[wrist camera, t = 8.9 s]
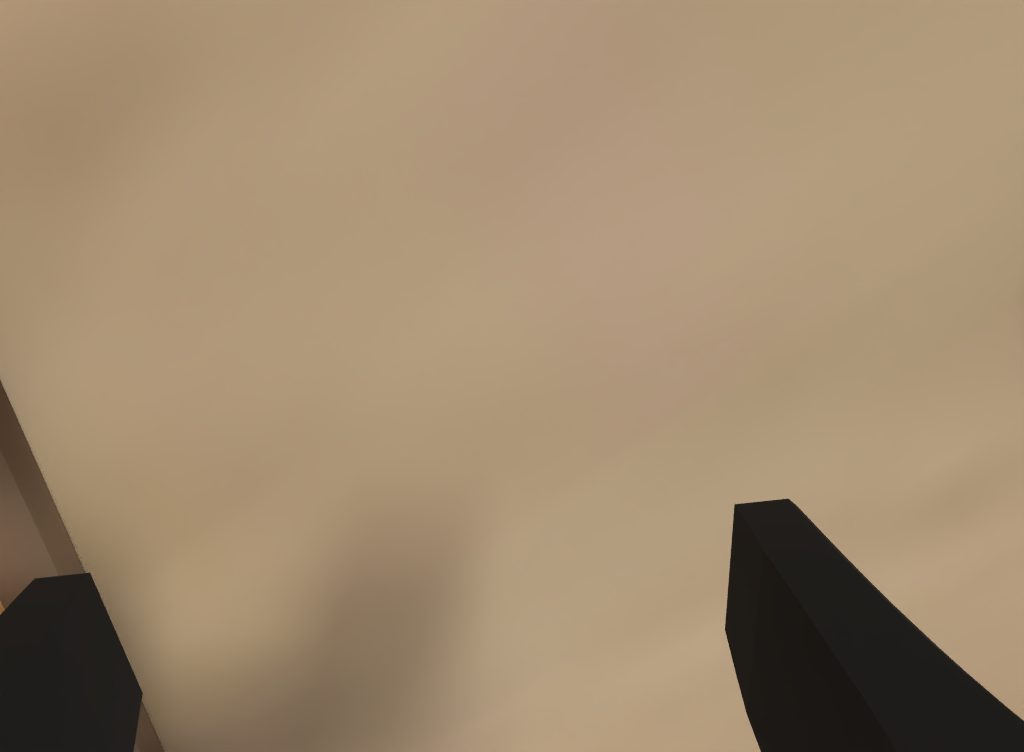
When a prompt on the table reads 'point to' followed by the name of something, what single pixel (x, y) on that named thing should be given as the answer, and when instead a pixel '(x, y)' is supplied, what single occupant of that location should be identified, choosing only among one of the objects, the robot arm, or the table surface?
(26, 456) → the walnut board
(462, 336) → the table surface
